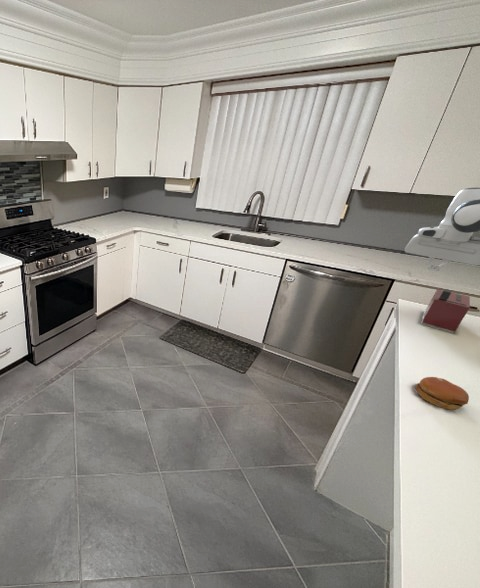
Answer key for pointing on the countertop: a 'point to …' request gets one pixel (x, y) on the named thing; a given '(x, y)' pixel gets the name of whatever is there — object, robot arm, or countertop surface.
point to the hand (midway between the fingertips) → (433, 269)
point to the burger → (442, 393)
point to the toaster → (446, 311)
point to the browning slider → (445, 294)
